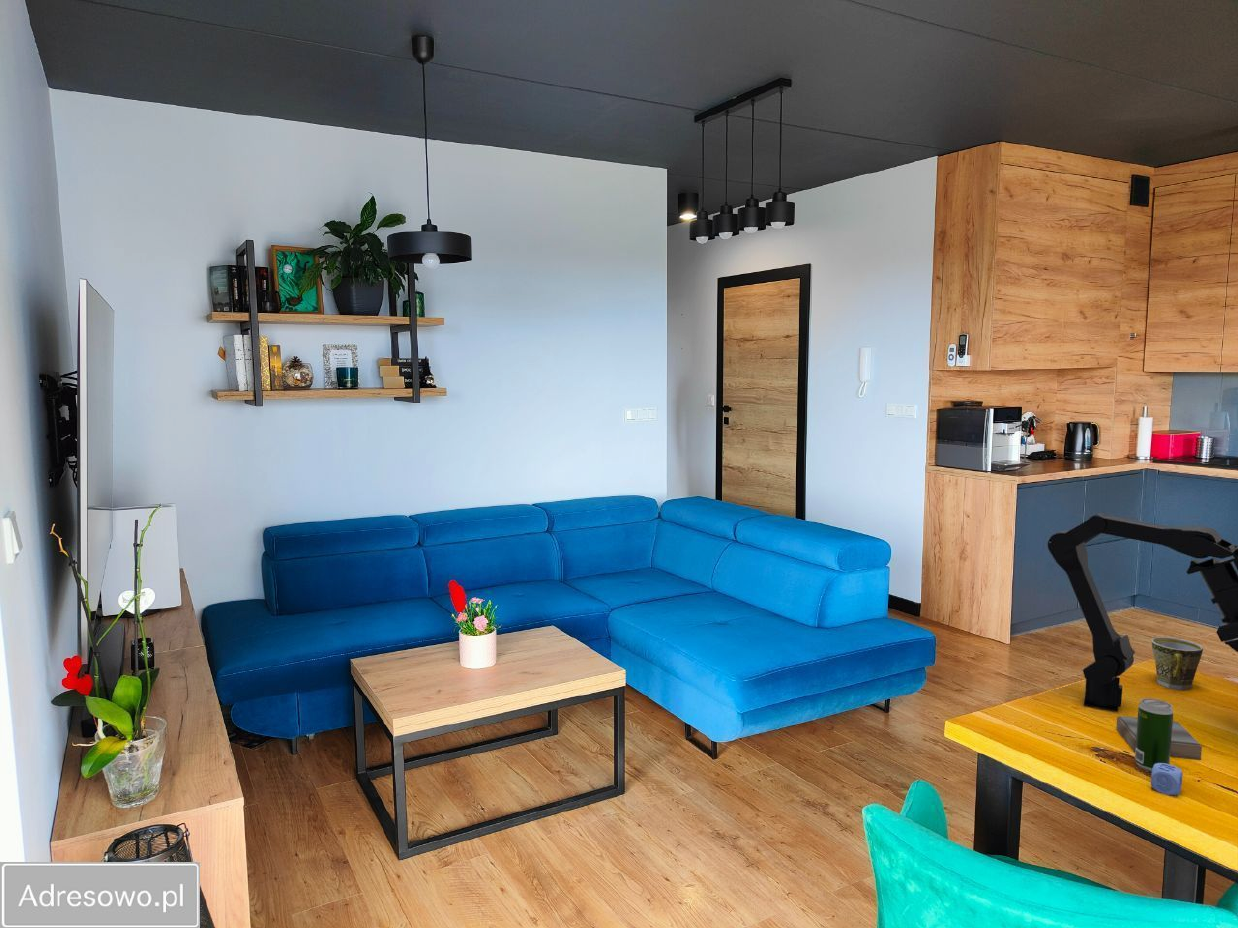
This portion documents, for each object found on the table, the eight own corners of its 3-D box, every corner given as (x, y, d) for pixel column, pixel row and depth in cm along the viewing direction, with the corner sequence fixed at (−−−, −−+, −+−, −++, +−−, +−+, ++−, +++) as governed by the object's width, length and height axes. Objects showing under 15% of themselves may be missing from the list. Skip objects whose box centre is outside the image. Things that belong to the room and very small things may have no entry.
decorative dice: (1181, 789, 142) (1183, 767, 141) (1177, 798, 139) (1179, 775, 138) (1154, 782, 144) (1156, 760, 144) (1149, 790, 141) (1151, 768, 141)
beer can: (1151, 774, 147) (1156, 710, 146) (1127, 761, 152) (1131, 698, 151) (1176, 771, 148) (1181, 707, 147) (1151, 758, 153) (1155, 696, 152)
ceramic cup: (1147, 674, 199) (1150, 634, 198) (1197, 682, 194) (1200, 641, 193) (1150, 691, 187) (1153, 649, 186) (1203, 700, 182) (1207, 657, 181)
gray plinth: (1116, 729, 167) (1117, 714, 166) (1177, 735, 164) (1179, 721, 163) (1134, 752, 156) (1135, 737, 156) (1200, 759, 153) (1202, 744, 153)
